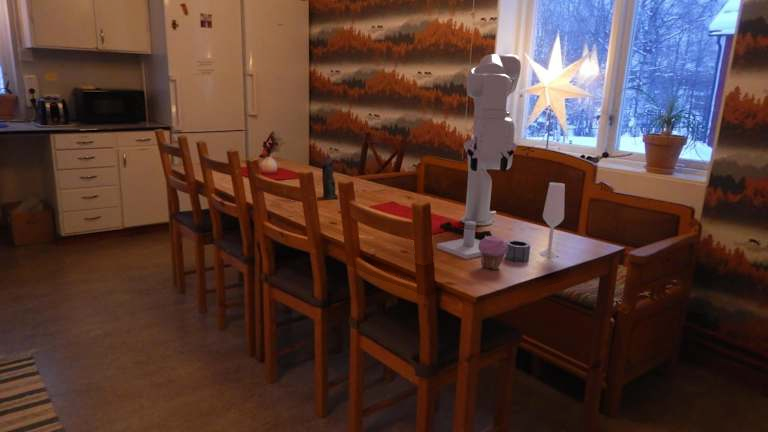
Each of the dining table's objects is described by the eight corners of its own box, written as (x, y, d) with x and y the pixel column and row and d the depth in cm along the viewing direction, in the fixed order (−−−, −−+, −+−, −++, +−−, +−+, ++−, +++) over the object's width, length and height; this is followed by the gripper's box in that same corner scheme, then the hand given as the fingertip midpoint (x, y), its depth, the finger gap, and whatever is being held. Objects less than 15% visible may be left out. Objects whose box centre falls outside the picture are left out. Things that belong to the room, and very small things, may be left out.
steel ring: (515, 253, 179) (516, 239, 178) (532, 259, 173) (534, 244, 172) (500, 257, 175) (502, 242, 173) (518, 263, 169) (520, 248, 168)
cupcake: (472, 268, 163) (474, 236, 161) (483, 261, 170) (486, 230, 168) (499, 274, 158) (502, 242, 156) (510, 267, 165) (513, 235, 163)
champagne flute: (534, 253, 180) (542, 183, 174) (546, 250, 184) (554, 181, 178) (551, 258, 175) (559, 186, 169) (563, 255, 179) (572, 184, 173)
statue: (339, 198, 253) (340, 156, 248) (328, 200, 248) (328, 157, 243) (330, 196, 258) (330, 154, 253) (318, 198, 253) (318, 155, 248)
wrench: (449, 230, 213) (503, 245, 187) (439, 232, 210) (492, 247, 185) (449, 217, 211) (503, 230, 186) (438, 219, 209) (492, 233, 184)
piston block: (469, 241, 191) (471, 215, 189) (499, 251, 181) (502, 224, 178) (436, 247, 182) (438, 220, 180) (466, 259, 171) (468, 230, 169)
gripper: (514, 115, 170) (509, 169, 174) (462, 114, 166) (458, 168, 170) (524, 117, 163) (519, 172, 167) (470, 115, 159) (466, 172, 163)
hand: (488, 170), depth 168 cm, fingers open, 9 cm apart
